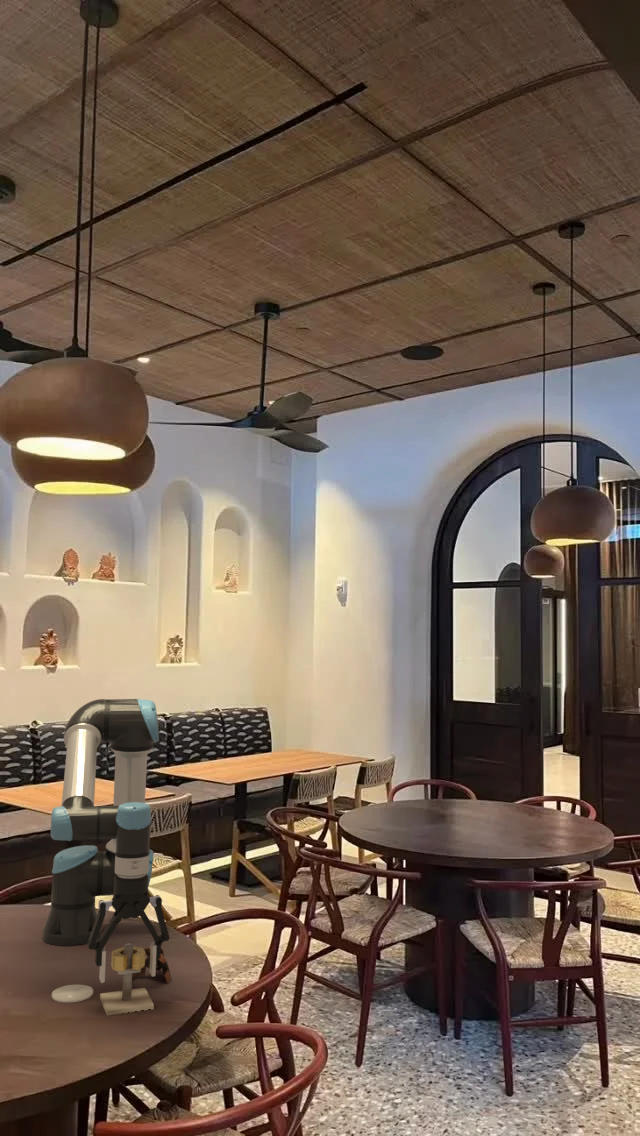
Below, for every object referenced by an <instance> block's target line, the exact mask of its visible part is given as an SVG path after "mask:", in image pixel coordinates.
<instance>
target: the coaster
mask: <svg viewBox="0 0 640 1136" xmlns="http://www.w3.org/2000/svg"><path fill="white" fill-rule="evenodd" d="M92 996H94V989H93V987H91V986H89V985H86V984H68V985H64V986H63V985H62V986H60V987H57V988H56V989H54V990H53V991H52V992H51V999H52V1000H53V1001H55V1002H58V1003H61V1004H63V1003H64V1004H72V1003H80V1002H83V1001H86V1000H88V999H90V998H92Z"/></svg>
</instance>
